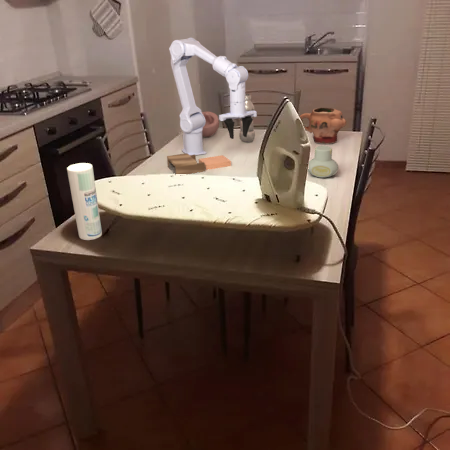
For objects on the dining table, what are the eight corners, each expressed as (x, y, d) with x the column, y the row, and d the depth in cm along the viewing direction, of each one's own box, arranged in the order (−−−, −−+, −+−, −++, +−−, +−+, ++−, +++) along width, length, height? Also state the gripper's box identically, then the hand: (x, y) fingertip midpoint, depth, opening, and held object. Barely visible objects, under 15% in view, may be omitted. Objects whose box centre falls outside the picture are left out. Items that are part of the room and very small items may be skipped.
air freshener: (338, 172, 181) (340, 145, 177) (336, 180, 174) (338, 152, 169) (307, 170, 184) (309, 143, 179) (305, 178, 176) (306, 150, 172)
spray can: (91, 242, 136) (80, 172, 128) (73, 237, 139) (61, 168, 131) (107, 232, 141) (97, 164, 133) (89, 228, 144) (79, 161, 136)
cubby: (167, 166, 191) (166, 156, 190) (195, 162, 195) (194, 152, 193) (176, 176, 182) (175, 164, 180) (205, 171, 186) (204, 160, 184)
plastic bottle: (255, 143, 216) (255, 96, 208) (239, 143, 217) (238, 96, 208) (254, 139, 222) (254, 93, 214) (239, 139, 222) (238, 93, 214)
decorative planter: (296, 144, 213) (297, 112, 207) (298, 137, 223) (299, 105, 217) (344, 146, 209) (347, 113, 203) (344, 138, 220) (347, 106, 214)
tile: (199, 164, 194) (198, 158, 193) (222, 161, 198) (222, 155, 196) (206, 171, 187) (206, 164, 186) (230, 167, 191) (230, 161, 190)
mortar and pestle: (190, 139, 224) (189, 114, 219) (196, 132, 235) (195, 108, 230) (217, 140, 222) (216, 114, 217) (221, 133, 233) (220, 108, 228)
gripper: (223, 105, 180) (224, 142, 186) (260, 101, 185) (260, 137, 191) (216, 101, 186) (217, 137, 192) (252, 97, 191) (252, 132, 196)
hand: (238, 137), depth 192 cm, fingers open, 5 cm apart
